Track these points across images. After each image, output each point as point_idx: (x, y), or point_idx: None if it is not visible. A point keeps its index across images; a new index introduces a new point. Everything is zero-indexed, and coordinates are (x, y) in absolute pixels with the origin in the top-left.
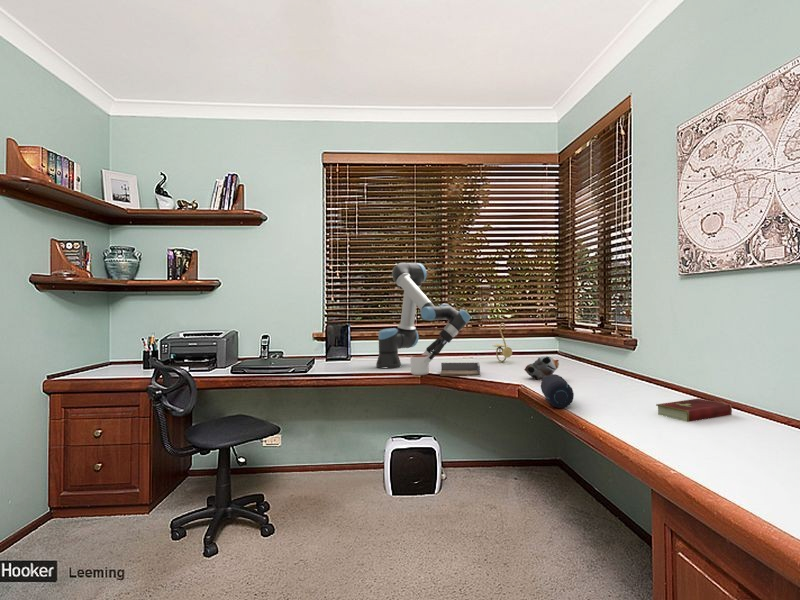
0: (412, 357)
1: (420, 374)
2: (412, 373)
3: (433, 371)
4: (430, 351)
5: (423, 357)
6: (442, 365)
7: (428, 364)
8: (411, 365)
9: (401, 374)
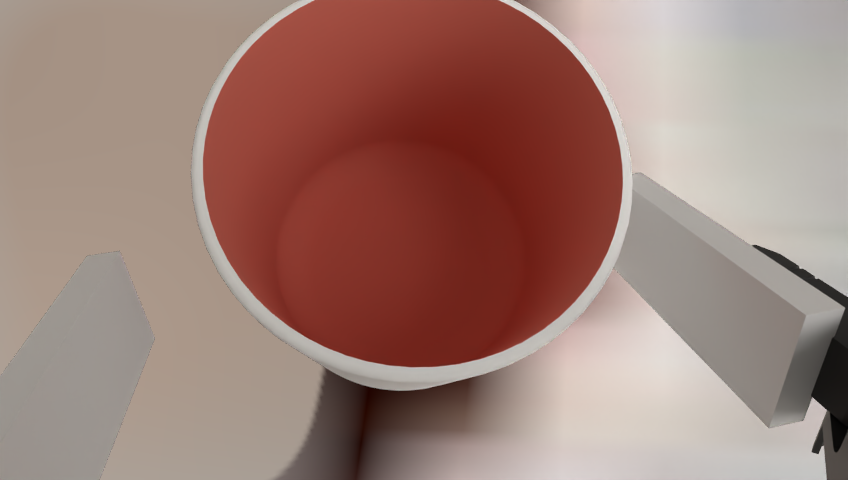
0: (294, 10)
1: (280, 261)
2: (339, 157)
3: (651, 470)
4: (831, 458)
5: (205, 239)
6: None
7: (351, 378)
8: (346, 88)
9: None
